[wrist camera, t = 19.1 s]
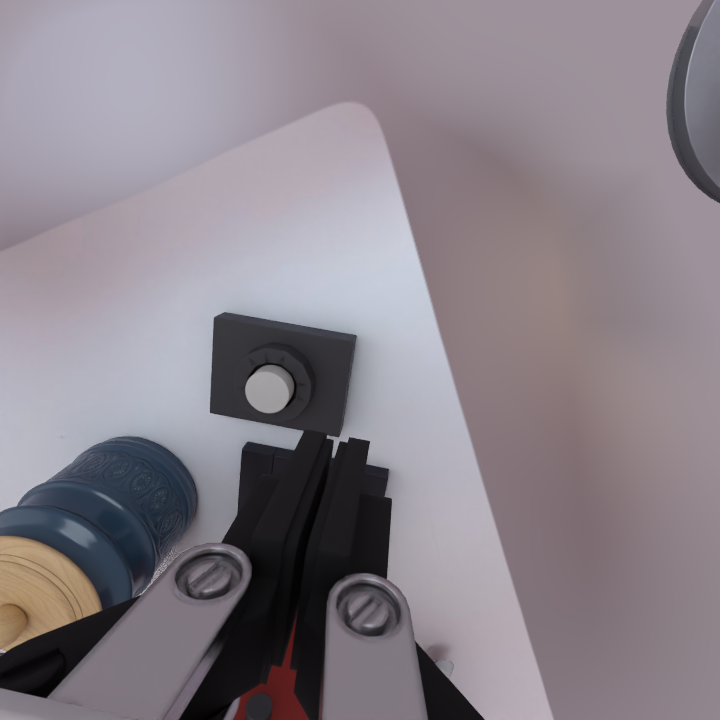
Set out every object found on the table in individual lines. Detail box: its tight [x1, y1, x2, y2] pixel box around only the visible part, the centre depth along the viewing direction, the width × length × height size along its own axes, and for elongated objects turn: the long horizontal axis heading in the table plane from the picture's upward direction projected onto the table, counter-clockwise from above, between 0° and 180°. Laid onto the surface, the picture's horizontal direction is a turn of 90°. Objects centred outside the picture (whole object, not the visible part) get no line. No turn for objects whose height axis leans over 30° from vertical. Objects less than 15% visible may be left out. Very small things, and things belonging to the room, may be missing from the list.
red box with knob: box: [233, 617, 308, 720], centre depth 40 cm, size 14×9×16 cm, turn 81°
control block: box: [210, 312, 357, 437], centre depth 38 cm, size 12×9×4 cm
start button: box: [245, 365, 294, 413], centre depth 35 cm, size 4×4×2 cm
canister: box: [0, 437, 197, 651], centre depth 37 cm, size 13×13×18 cm
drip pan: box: [237, 442, 389, 515], centre depth 44 cm, size 14×14×2 cm
